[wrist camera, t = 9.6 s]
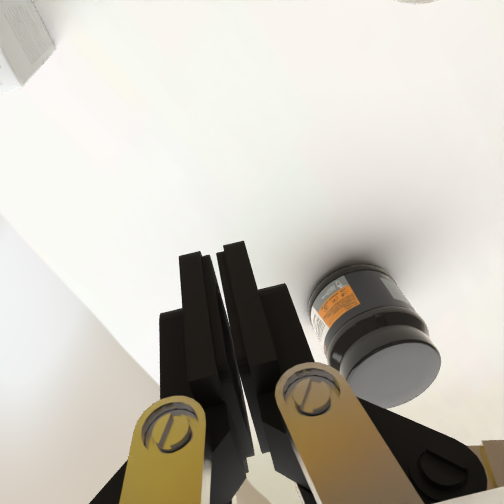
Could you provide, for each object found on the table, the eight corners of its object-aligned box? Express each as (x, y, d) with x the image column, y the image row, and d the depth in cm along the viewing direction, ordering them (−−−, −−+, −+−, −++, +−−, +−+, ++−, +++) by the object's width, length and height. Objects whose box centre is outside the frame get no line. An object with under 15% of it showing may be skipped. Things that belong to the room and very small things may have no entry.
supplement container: (286, 308, 53) (318, 393, 43) (353, 243, 50) (404, 319, 40) (345, 343, 58) (386, 425, 48) (410, 286, 55) (467, 363, 45)
